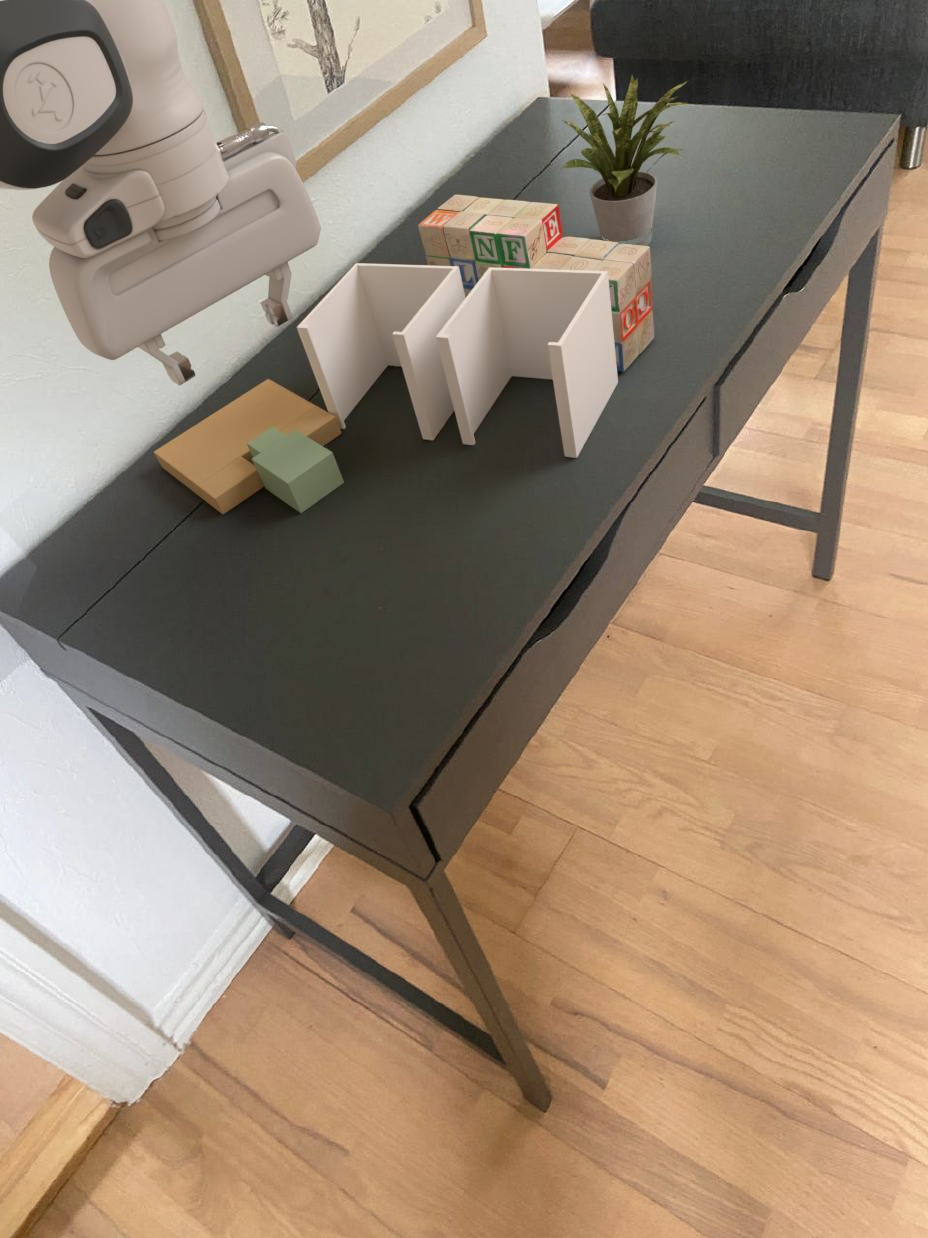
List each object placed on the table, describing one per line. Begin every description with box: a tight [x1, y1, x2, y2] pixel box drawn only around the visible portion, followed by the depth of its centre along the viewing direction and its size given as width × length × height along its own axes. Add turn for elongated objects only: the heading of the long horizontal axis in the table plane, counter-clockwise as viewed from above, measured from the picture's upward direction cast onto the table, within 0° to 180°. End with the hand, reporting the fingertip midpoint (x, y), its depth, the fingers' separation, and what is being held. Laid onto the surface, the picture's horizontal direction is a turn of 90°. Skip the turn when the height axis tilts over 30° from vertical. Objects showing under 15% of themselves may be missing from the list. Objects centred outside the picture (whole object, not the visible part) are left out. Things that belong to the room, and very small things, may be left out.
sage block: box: [247, 427, 345, 514], centre depth 83 cm, size 5×8×4 cm, turn 42°
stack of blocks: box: [417, 194, 655, 373], centre depth 87 cm, size 21×6×12 cm, turn 54°
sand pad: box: [153, 378, 342, 515], centre depth 88 cm, size 14×12×2 cm
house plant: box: [560, 73, 689, 246], centre depth 94 cm, size 14×14×16 cm
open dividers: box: [296, 262, 619, 459], centre depth 82 cm, size 25×11×11 cm, turn 65°
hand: (233, 349), depth 73 cm, fingers open, 8 cm apart
